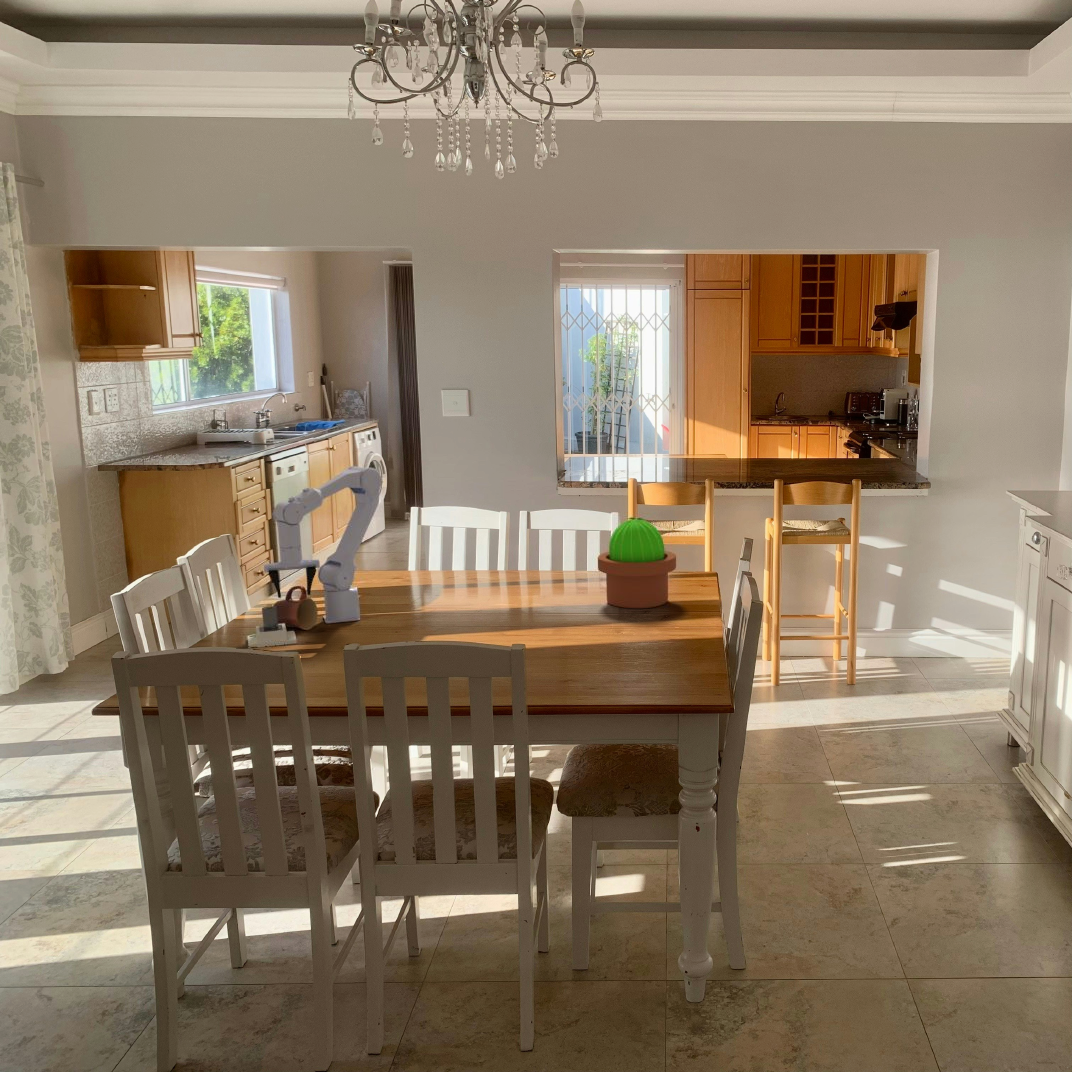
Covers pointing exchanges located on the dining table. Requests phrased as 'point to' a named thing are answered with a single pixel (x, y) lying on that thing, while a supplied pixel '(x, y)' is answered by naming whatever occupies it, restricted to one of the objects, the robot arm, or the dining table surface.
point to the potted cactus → (636, 566)
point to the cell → (270, 618)
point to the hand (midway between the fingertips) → (294, 595)
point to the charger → (271, 637)
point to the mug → (297, 610)
